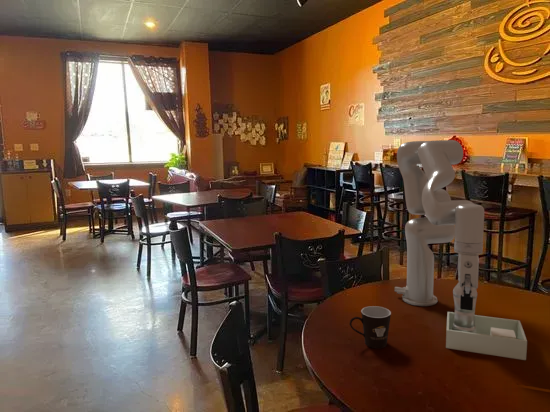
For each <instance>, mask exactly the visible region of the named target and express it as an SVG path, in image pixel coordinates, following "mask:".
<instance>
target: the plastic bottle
mask: <svg viewBox="0 0 550 412" xmlns="http://www.w3.org/2000/svg"><path fill="white" fill-rule="evenodd" d="M457 281H458V282H457V284H456V285H455V286H454V287H453V290H452V297H453V302H454V313H455V316H454V323H453V328H452V330H455V331H463V332H470V333H477V330H476V325H475V315H476V314H475V313H476V304H477V298H478V292H477V291H478V290H477V289H475V288H472V296H473V310H464V309H460V300H461V295H462V287H460V286H459V277H458V279H457ZM463 283H464V282H463ZM463 285H464V284H463ZM470 286H471V285H470ZM472 287H473V286H472Z"/></svg>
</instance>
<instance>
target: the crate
mask: <svg viewBox="0 0 550 412" xmlns="http://www.w3.org/2000/svg"><path fill="white" fill-rule="evenodd" d="M446 312H447V316H446V331H445V332H446V333H445V335H446V336H445V348H446V349H451V350H457V351H464V352H470V353H476V354H481V355H489V356H494V357H495V356H497V357H503V358H509V359H515V360H521V361H527V353H528V352H527V350H528V340H527V337H526V334H525V331H524V329H523V325H522V323H521V320H518V319H509V318H501V317H495V316H494V317H493V316H485V315H479V314H478V315H477V314H475V325H476V330H477V333H470V332H463V331H455V330H452V328H453V323H454V316H455V311H454V312H453V311H446ZM491 327H492V328H500V329H508V330H514V332H515V336H516V339H513V338H506V337H499V336H492V335H490V331H491Z"/></svg>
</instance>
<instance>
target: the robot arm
mask: <svg viewBox="0 0 550 412" xmlns="http://www.w3.org/2000/svg"><path fill="white" fill-rule="evenodd" d="M397 148H398V149H397V151H396V160H397V161H396V162H397V166H398V169H399V173H400V174H401V176H402V179H403V187H404V196H405V197H404V198H405V204H406V209H407V211H408V213H409V214H411V215H419V216H420V215H423V216H424V215H425V216H426V217H416V218H412V219H410V220H408V221H407V222H406V223H405V227H404V233H405V234H404V235H405V239H406V259H407V260H406V285H405V286H403V287H400V286H394V292H395V293H396V294H399V295H401V298H402V301H403V302H405V303H406V304H408V305H411V306H418V307H431V306H434V305H436V304H437V303H438V297H437V296H436V295H434V275H435V273H434V272H435V270H434V269H435V256H434V252H433V251H432V249H430V247H429V244H445V243H451V242H452V241H453V240H454V241H453V242H454V243H453V244H454V245H453V252H455V253H456V254H457V255H458V256H457V257H458V259H457V271H458V272H457V275H458V278H459V281H458V283H459V286H460V287H462V295H461V300H460V309H464V310H473V296H472V288H475V289H476V290H477V289H478V288H479V265H480V264H479V263H480V262H479V255H483V253H484V252H483V250H484V249H483V247H484V230H485V229H484V228H485V227H484V225H485V208H484V207H483V206H482V205H480V204H476V203H474V202H473V201H471V200H467V199H456V200H455V199H454V200H453V199H452V198H451V196H450V194H449V192H448V191H447V190H446V189H443V188H445V187H447V186H448V185H450V184H452V183H453V181H454V179H455V177H456V172H455V170H454V168H453V166H454V165H458V164H459V163H461V162H462V160H463V158H464V149H463V147H462V145H461V143H459V141H457V140H454V139H447V140H446V139H445V140H443V139H442V140H416V141H407V142H404V143H401V144H400V145H399V146H398V147H397ZM419 165H421V166H422V167H420V166H419ZM452 165H453V166H452ZM422 169H423V170H422ZM463 282H464V283H463ZM463 284H464V285H463ZM470 285H471V286H470ZM472 286H473V287H472Z"/></svg>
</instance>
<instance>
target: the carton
mask: <svg viewBox="0 0 550 412" xmlns="http://www.w3.org/2000/svg"><path fill="white" fill-rule="evenodd" d="M490 335H492V336H499V337H506V338H513V339H516V336H515V332H514V330H508V329H500V328H492V327H491V331H490Z"/></svg>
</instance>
